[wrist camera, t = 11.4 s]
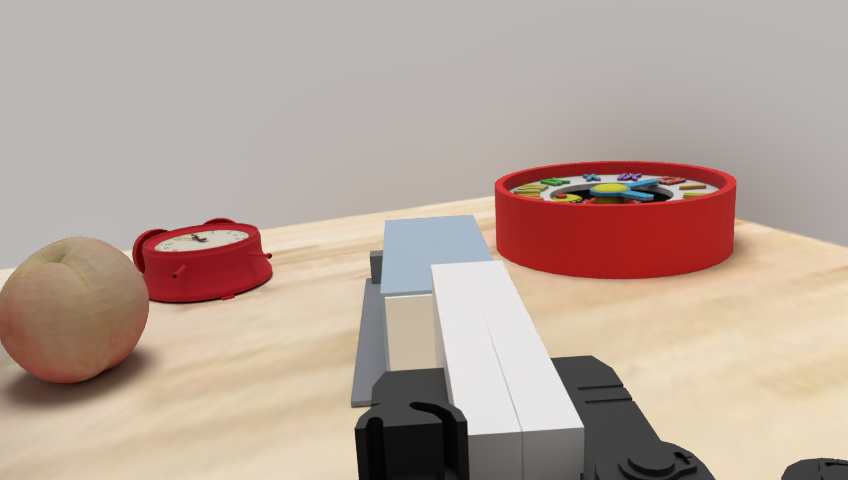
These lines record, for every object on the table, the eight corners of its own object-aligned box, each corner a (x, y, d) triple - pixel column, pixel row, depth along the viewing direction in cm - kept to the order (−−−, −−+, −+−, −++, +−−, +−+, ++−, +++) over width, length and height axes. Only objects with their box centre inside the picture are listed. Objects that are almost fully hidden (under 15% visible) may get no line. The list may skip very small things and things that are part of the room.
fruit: (-7, 378, 42) (-39, 251, 40) (123, 334, 47) (102, 220, 45) (42, 419, 36) (8, 274, 34) (182, 364, 42) (161, 237, 40)
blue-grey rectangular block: (505, 286, 33) (472, 214, 48) (380, 294, 33) (385, 220, 48) (509, 399, 35) (476, 297, 49) (389, 408, 35) (391, 302, 49)
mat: (545, 392, 36) (544, 347, 35) (351, 406, 36) (347, 362, 35) (492, 273, 55) (491, 242, 54) (366, 281, 55) (363, 251, 54)
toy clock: (450, 182, 64) (609, 154, 73) (453, 243, 65) (609, 208, 75) (611, 220, 47) (790, 177, 56) (610, 301, 48) (785, 246, 58)
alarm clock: (152, 273, 49) (110, 196, 60) (161, 347, 52) (120, 260, 63) (291, 244, 54) (229, 179, 65) (293, 312, 57) (233, 238, 68)
